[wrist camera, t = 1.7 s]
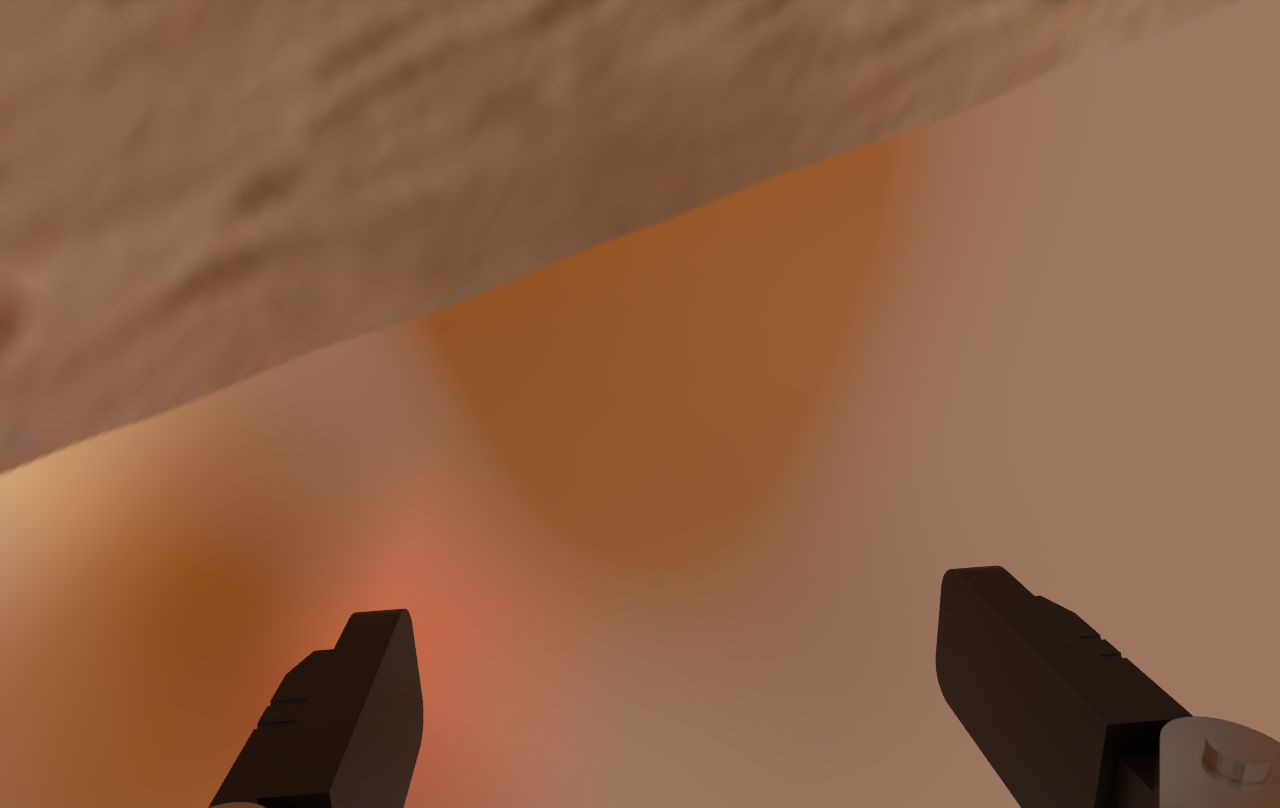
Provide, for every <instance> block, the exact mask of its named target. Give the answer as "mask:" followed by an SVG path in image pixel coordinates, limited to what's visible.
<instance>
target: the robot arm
mask: <svg viewBox="0 0 1280 808" xmlns="http://www.w3.org/2000/svg"><path fill="white" fill-rule="evenodd" d="M936 672H937V677H938V682H939V685H940V688H941V691H942V694H943V696H944V698H945V700H946V702H947V703H948V705H949V706H950V708H951V709H952V710H953V712H954V713H955V714H956V716H957V717H958V719H959V720H960V722H961V723H962V724H963V726H964V727H965V729H966V730H967V732H968V733H969V734H970V736H971V737H972V738H973V740H974V741H975V743H976V744H977V746H978V747H979V748H980V750H981V751H982V753H983V754H984V755H985V757H986V758H987V760H988V761H989V763H990V764H991V765H992V767H993V768H994V770H995V771H996V772H997V774H998V775H999V777H1000V778H1001V780H1002V781H1003V782H1004V784H1005V785H1006V787H1007V788H1008V789H1009V791H1010V792H1011V794H1012V795H1013V797H1014V798H1015V799H1016V801H1017V802H1018V804H1019V805H1020V806H1021V808H1280V743H1279V742H1278V741H1276V740H1274V739H1273V738H1271V737H1269V736H1267V735H1265V734H1263V733H1260V732H1258V731H1256V730H1254V729H1251V728H1249V727H1246V726H1243V725H1240V724H1237V723H1233V722H1230V721H1226V720H1222V719H1216V718H1209V717H1197V716H1195V717H1194V716H1192V715H1191V714H1190V713H1189V712H1188V711H1187V710H1186V709H1184V708H1183V707H1182V706H1181V705H1180V704H1179V703H1177V702H1176V701H1175V700H1174V699H1173V698H1172V697H1171V696H1169V695H1168V694H1167V693H1166V692H1165V691H1164V690H1162V689H1161V688H1160V687H1159V686H1158V685H1157V684H1156V683H1155V682H1153V681H1152V680H1151V679H1150V678H1149V677H1147V675H1145V674H1144V673H1143V672H1142V671H1141V670H1140V669H1139V668H1137V667H1136V666H1135V665H1134V664H1133V663H1132V662H1130V661H1129V660H1128V659H1127V658H1122V657H1121V653H1120V652H1119V651H1118V650H1117V649H1116V648H1114V647H1113V646H1112V645H1111V644H1110V643H1109V642H1108V641H1106V640H1105V639H1104V640H1101V638H1100V634H1098V633H1097V632H1096V631H1095V630H1094V629H1093V628H1091V627H1090V626H1089V625H1088V624H1087V623H1086V622H1085V621H1083V620H1082V619H1081V618H1080V617H1079V616H1078V615H1077V614H1075V613H1074V612H1072V611H1070V610H1068V609H1066V608H1064V607H1062V606H1060V605H1058V604H1056V603H1054V602H1052V601H1050V600H1048V599H1046V598H1044V597H1042V596H1034V595H1033V594H1032V593H1031V592H1030V591H1028V590H1027V589H1026V588H1025V587H1024V586H1023V585H1022V584H1021V583H1020V582H1018V581H1017V580H1016V579H1015V578H1014V577H1013V576H1012V575H1011V574H1010V573H1009V572H1007V571H1006V570H1005V569H1004V568H1002V567H1000V566H985V567H973V568H959V569H950V570H948V571H947V572H946V573H945V574H944V577H943V580H942V586H941V598H940V610H939V623H938V635H937V647H936ZM270 702H271V705H270V706H268V707H267V708H266V710H265V711H264V713H263V715H262V716H261V718H260V720H259V722H258V726H257V729H254V730H253V732H252V734H251V735H250V737H249V739H248V740H247V742H246V744H245V746H244V747H243V749H242V751H241V753H240V754H239V756H238V758H237V759H236V761H235V763H234V764H233V766H232V768H231V770H230V772H229V773H228V775H227V776H226V778H225V780H224V782H223V783H222V785H221V787H220V789H219V790H218V792H217V794H216V795H215V797H214V799H213V801H212V802H211V804H210V806H209V807H208V808H404V804H405V800H406V796H407V793H408V790H409V786H410V782H411V778H412V775H413V771H414V768H415V764H416V760H417V756H418V753H419V749H420V745H421V739H422V731H423V699H422V692H421V685H420V677H419V670H418V663H417V656H416V648H415V641H414V634H413V626H412V621H411V617H410V614H409V612H408V610H407V609H395V610H383V611H369V612H356V613H353V614H352V615H351V617H350V618H349V620H348V622H347V624H346V626H345V628H344V630H343V632H342V634H341V636H340V638H339V640H338V642H337V644H336V646H335V648H334V649H331V650H318V651H313V652H312V653H311V654H310V655H309V656H307V657H306V658H305V659H304V660H303V661H302V662H300V663H299V664H298V665H297V666H296V667H294V668H293V669H292V670H291V671H290V672H289V673H287V674H286V675H285V677H284V679H283V681H282V682H281V684H280V686H279V688H278V689H277V691H276V693H275V694H274V696H273V698H272V699H271V701H270Z"/></svg>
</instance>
